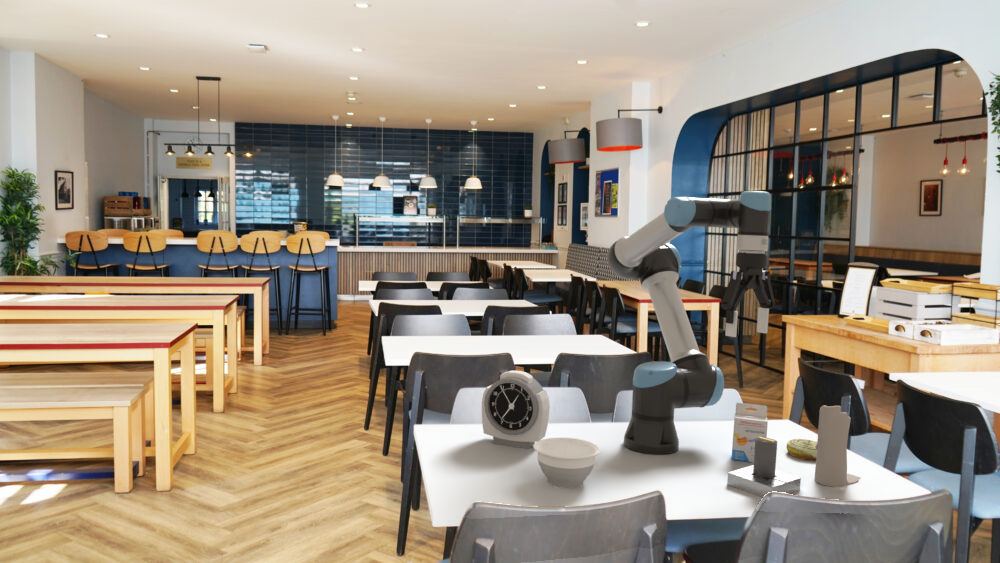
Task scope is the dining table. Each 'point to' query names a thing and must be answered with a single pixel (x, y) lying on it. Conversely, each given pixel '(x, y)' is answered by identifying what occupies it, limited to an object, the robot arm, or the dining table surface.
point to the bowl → (566, 460)
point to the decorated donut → (802, 448)
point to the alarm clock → (515, 410)
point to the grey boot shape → (833, 448)
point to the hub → (763, 482)
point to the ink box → (748, 430)
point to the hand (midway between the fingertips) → (746, 334)
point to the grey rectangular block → (765, 458)
